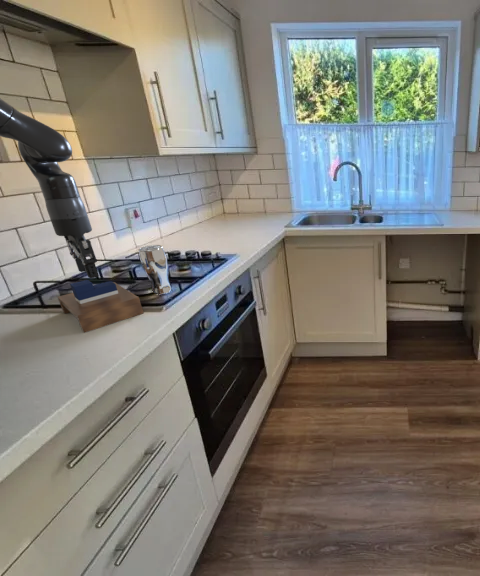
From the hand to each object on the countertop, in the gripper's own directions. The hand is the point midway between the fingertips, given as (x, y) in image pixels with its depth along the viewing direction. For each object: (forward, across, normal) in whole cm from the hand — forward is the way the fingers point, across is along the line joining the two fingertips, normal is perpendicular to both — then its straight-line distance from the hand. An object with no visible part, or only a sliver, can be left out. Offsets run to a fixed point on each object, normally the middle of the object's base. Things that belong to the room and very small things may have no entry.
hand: (89, 274), depth 99 cm
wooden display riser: (+12, 0, 0) cm, 12 cm away
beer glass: (+12, -2, +17) cm, 21 cm away
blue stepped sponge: (+7, 0, 0) cm, 7 cm away
